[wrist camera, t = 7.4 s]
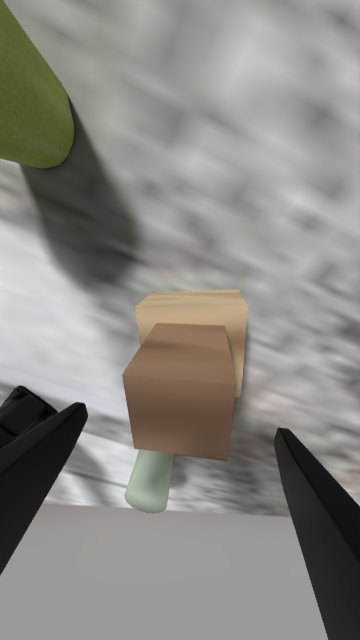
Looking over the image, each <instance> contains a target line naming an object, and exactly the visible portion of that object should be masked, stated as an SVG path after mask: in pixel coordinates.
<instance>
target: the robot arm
mask: <svg viewBox="0 0 360 640" xmlns="http://www.w3.org/2000/svg"><path fill="white" fill-rule="evenodd" d="M87 418H88V413H87V409H86V406H85V404H84V403H81V402H76V403H74V404H72V405H70V406H69V407H67V408H66V409H64V410H62V411H61V412H59V413H58V414H57V412H56V411H55V410H53V409H52V408H51V407H49V406H48V405H47V404H45V403H44V402H43V401H41V400H40V399H38V398H37V397H36V396H34V395H33V394H32V393H30V392H29V391H28V390H26V389H25V388H24V387H22V386H17V387H16V388H15V389H14V390H13V392H12V393H11V394H10V395H9V397H8V398H7V399H6V400H5V402H4V403H3V404H2V405H1V407H0V575H1V573H2V572H3V570H4V568H5V567H6V565H7V563H8V561H9V559H10V557H11V556H12V554H13V553H14V551H15V549H16V548H17V546H18V544H19V542H20V541H21V539H22V537H23V535H24V534H25V532H26V530H27V529H28V527H29V525H30V523H31V522H32V520H33V518H34V516H35V515H36V513H37V511H38V510H39V508H40V506H41V504H42V503H43V501H44V499H45V498H46V496H47V494H48V492H49V491H50V489H51V487H52V485H53V484H54V482H55V480H56V479H57V477H58V475H59V473H60V472H61V470H62V468H63V466H64V465H65V463H66V461H67V460H68V458H69V456H70V454H71V452H72V450H73V448H74V446H75V444H76V442H77V440H78V438H79V436H80V434H81V431H82V429H83V427H84V425H85V423H86V421H87ZM274 447H275V452H276V457H277V462H278V466H279V471H280V476H281V481H282V486H283V490H284V493H285V497H286V500H287V504H288V507H289V510H290V514H291V517H292V520H293V524H294V527H295V530H296V534H297V537H298V540H299V543H300V547H301V550H302V553H303V557H304V560H305V563H306V567H307V570H308V573H309V577H310V580H311V583H312V587H313V590H314V593H315V597H316V600H317V603H318V607H319V610H320V613H321V616H322V620H323V623H324V627H325V630H326V633H327V637H328V640H360V506H359V505H358V504H357V503H356V502H355V501H354V500H353V498H352V497H351V496H350V495H349V494H348V493H347V492H346V491H345V490H344V489H343V488H342V486H341V485H340V484H339V483H338V482H337V481H336V480H335V479H334V478H333V477H332V475H331V474H330V473H329V472H328V471H327V470H326V469H325V468H324V467H323V466H322V465H321V463H320V462H319V461H318V460H317V459H316V458H315V457H314V456H313V455H312V454H311V452H310V451H309V450H308V449H307V448H306V447H305V446H304V445H303V444H302V443H301V442H300V440H299V439H298V438H297V437H296V436H295V435H294V434H293V433H292V432H291V431H290V430H289V429H287V428H278V429H277V432H276V435H275V439H274Z"/></svg>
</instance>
